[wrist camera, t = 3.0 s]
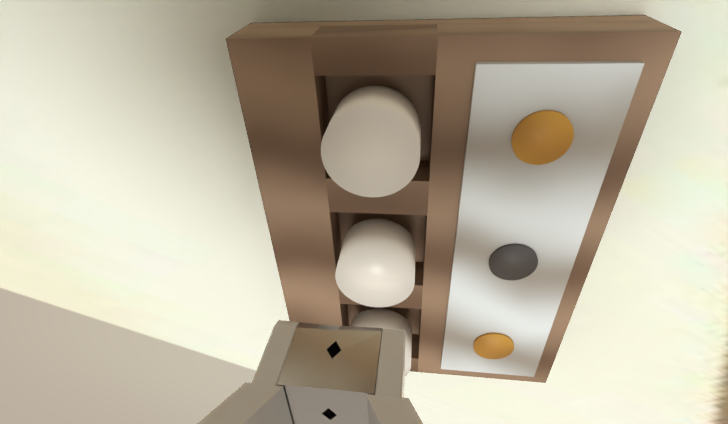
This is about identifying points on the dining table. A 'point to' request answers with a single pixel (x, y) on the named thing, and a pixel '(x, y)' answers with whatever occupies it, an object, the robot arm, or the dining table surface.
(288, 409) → the robot arm
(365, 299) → the middle button
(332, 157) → the button
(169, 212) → the dining table surface
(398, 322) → the button
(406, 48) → the console
